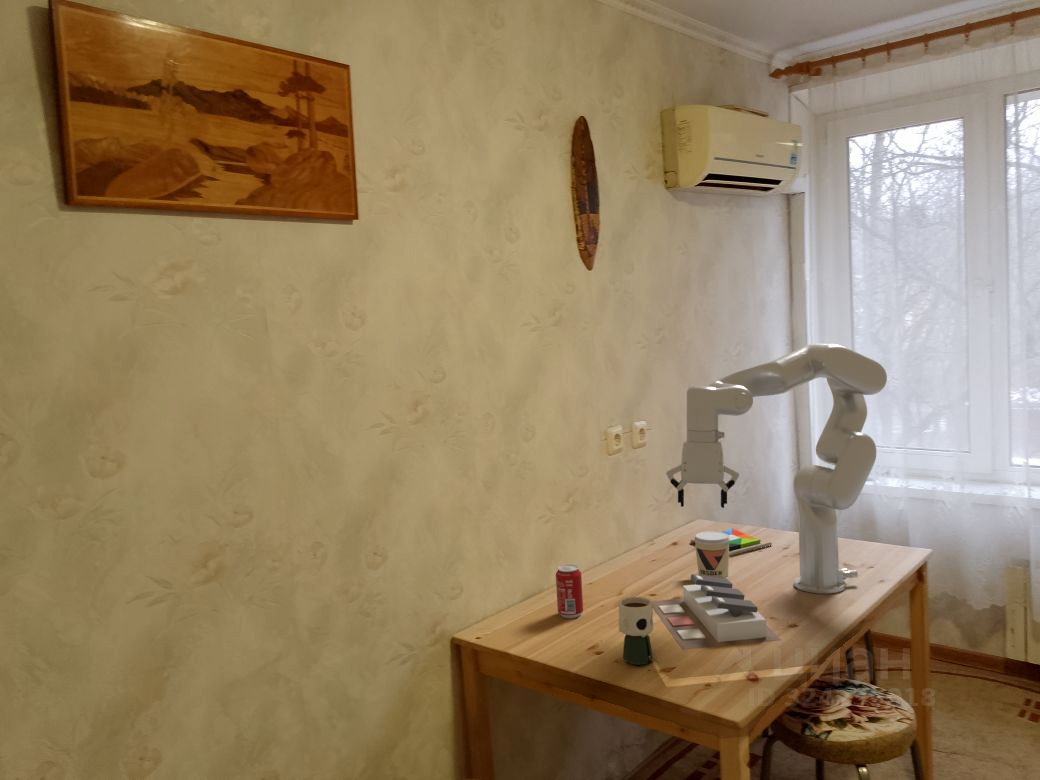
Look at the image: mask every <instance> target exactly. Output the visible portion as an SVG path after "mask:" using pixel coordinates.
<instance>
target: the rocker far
mask: <svg viewBox="0 0 1040 780" xmlns="http://www.w3.org/2000/svg"><path fill="white" fill-rule="evenodd" d="M690 580H691V581H692V582H693V583H694V585H695V584H696V585H708V586H716V587H725V588H733V583H732V582H731V581H730V580H729V579H728V577H725V578H719V577H711V576H702V575H699V574H691V575H690Z"/></svg>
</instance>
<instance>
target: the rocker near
mask: <svg viewBox="0 0 1040 780" xmlns="http://www.w3.org/2000/svg"><path fill="white" fill-rule="evenodd" d="M711 601H712V602H713V604H714V605H715V606H716V607H717V608H722V609H727V610H728V611H729V612H730V613H731V614H732V615H733V616H735V617H737V616H740V615H741V613H742V611H747V612H755V613H757V612H758V606H757V605H755V603H754V602H752V601H751V600H748V599H745V600H741V599H732V598H724V597H716V596H712V600H711Z"/></svg>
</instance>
